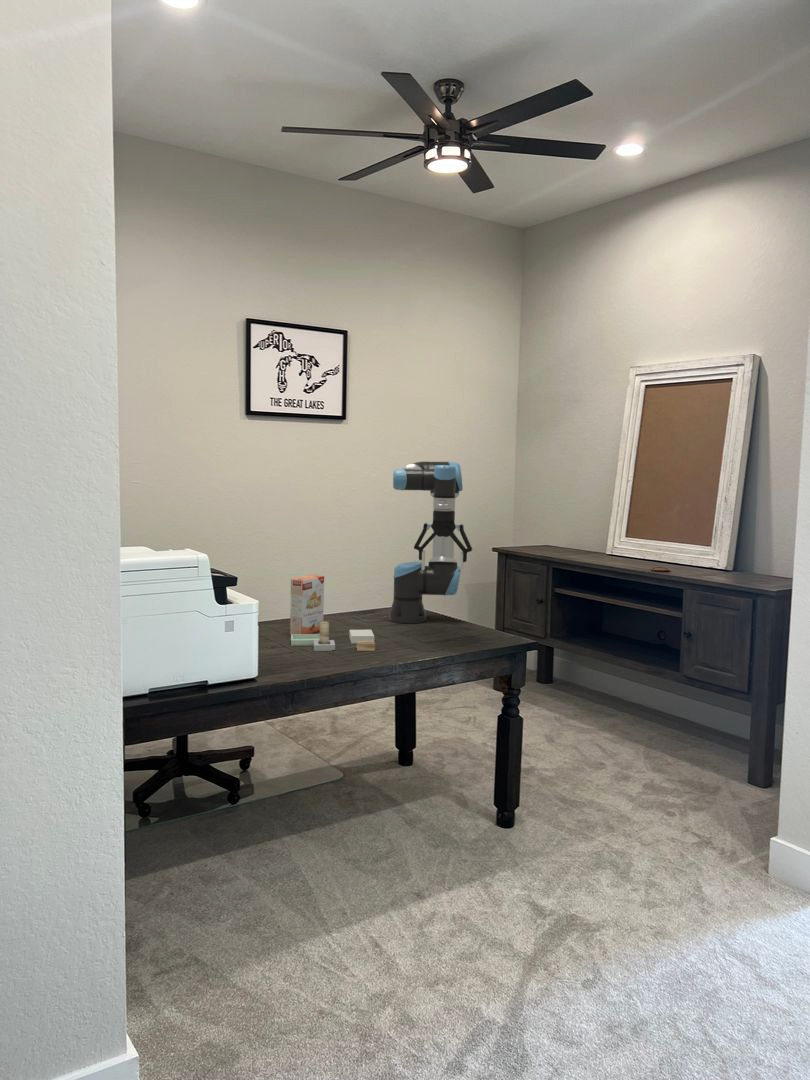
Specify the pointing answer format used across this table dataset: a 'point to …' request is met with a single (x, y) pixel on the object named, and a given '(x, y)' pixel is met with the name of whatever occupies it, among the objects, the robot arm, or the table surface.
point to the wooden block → (365, 645)
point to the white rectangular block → (361, 635)
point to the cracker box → (306, 604)
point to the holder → (324, 646)
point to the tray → (304, 639)
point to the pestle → (324, 632)
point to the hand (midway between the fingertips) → (442, 570)
